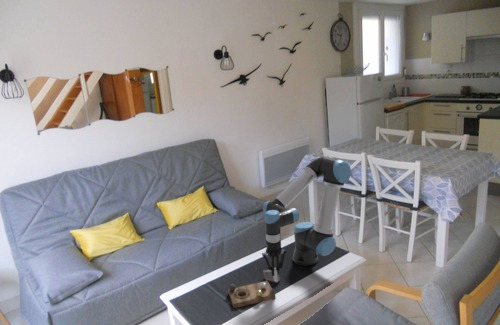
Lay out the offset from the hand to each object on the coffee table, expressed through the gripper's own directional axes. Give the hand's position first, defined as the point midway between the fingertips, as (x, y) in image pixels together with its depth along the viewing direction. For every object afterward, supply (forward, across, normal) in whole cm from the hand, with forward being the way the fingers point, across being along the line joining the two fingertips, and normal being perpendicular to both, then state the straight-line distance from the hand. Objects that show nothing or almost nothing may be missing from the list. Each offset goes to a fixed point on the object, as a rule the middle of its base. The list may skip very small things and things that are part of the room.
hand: (275, 280), depth 201 cm
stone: (+7, -2, -11) cm, 13 cm away
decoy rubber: (+2, +23, -5) cm, 23 cm away
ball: (+2, +7, 0) cm, 7 cm away
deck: (+6, +14, 0) cm, 15 cm away
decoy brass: (+2, +11, +5) cm, 12 cm away
